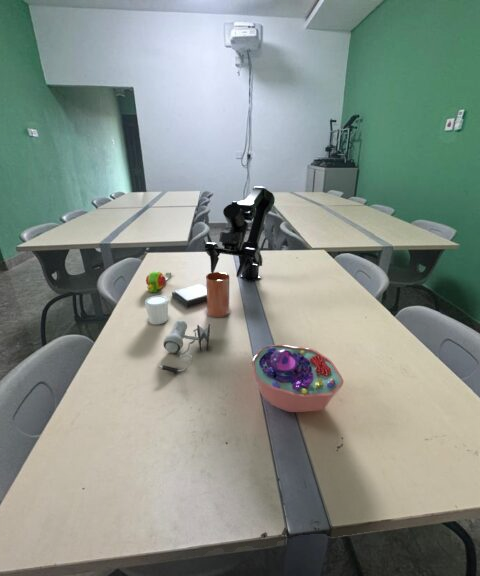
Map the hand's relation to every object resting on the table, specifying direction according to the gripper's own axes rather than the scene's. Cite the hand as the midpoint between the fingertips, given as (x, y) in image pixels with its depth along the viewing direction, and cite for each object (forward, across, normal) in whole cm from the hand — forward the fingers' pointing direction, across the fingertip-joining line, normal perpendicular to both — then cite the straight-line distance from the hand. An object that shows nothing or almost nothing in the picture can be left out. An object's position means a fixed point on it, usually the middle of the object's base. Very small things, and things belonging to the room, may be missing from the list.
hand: (224, 274), depth 106 cm
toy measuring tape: (+3, -31, +13) cm, 34 cm away
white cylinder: (+20, -15, -4) cm, 26 cm away
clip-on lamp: (+29, +2, -12) cm, 32 cm away
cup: (+12, 0, +5) cm, 13 cm away
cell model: (+33, +32, -16) cm, 49 cm away
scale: (+7, -12, +9) cm, 17 cm away
